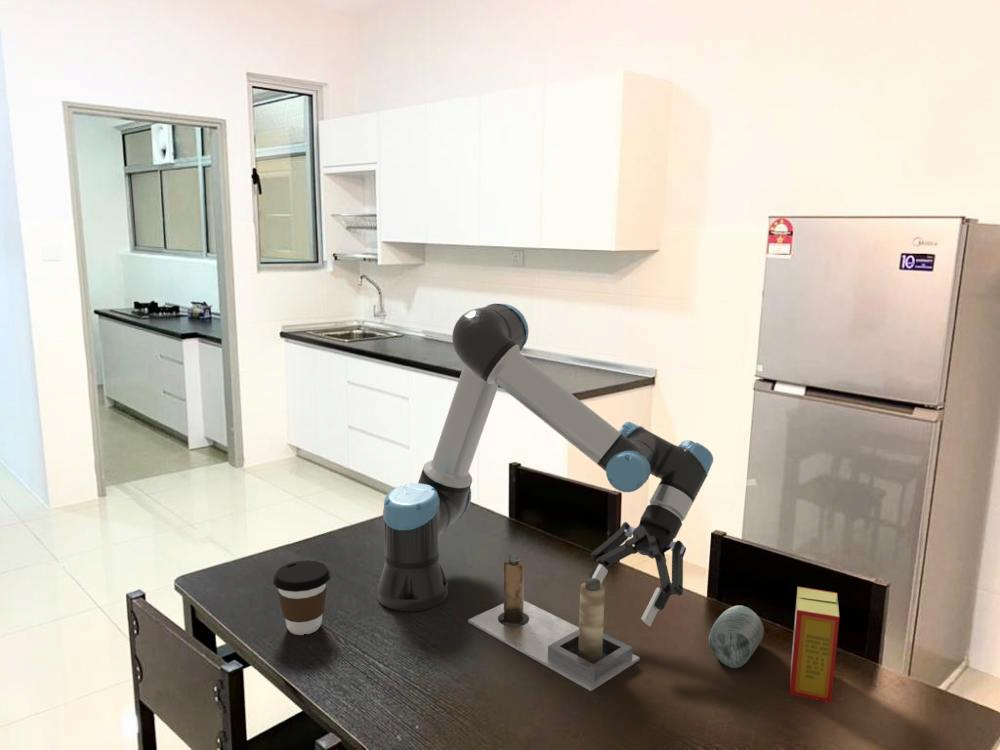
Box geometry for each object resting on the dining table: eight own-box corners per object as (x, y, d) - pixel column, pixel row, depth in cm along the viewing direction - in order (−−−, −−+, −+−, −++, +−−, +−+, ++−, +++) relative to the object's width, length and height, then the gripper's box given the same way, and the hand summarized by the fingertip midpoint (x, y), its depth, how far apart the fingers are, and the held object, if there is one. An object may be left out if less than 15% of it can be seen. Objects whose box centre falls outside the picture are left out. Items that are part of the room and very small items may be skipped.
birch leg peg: (573, 657, 140) (575, 581, 137) (588, 648, 143) (591, 573, 140) (591, 667, 137) (594, 589, 134) (607, 658, 140) (610, 581, 137)
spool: (756, 667, 133) (738, 609, 136) (706, 674, 138) (690, 618, 141) (781, 652, 144) (765, 598, 146) (735, 659, 149) (719, 607, 152)
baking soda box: (831, 703, 128) (839, 615, 125) (789, 694, 131) (797, 608, 128) (829, 673, 137) (837, 590, 134) (790, 665, 139) (797, 584, 136)
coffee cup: (265, 627, 152) (262, 571, 149) (312, 608, 159) (309, 554, 157) (295, 648, 144) (292, 589, 142) (343, 626, 152) (341, 570, 150)
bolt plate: (468, 622, 154) (467, 556, 151) (517, 599, 163) (517, 537, 161) (590, 691, 131) (593, 615, 129) (639, 660, 141) (642, 589, 138)
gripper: (728, 540, 143) (679, 642, 136) (622, 505, 161) (574, 594, 154) (715, 521, 139) (663, 626, 132) (607, 487, 157) (557, 578, 150)
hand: (615, 609), depth 143 cm, fingers open, 13 cm apart
